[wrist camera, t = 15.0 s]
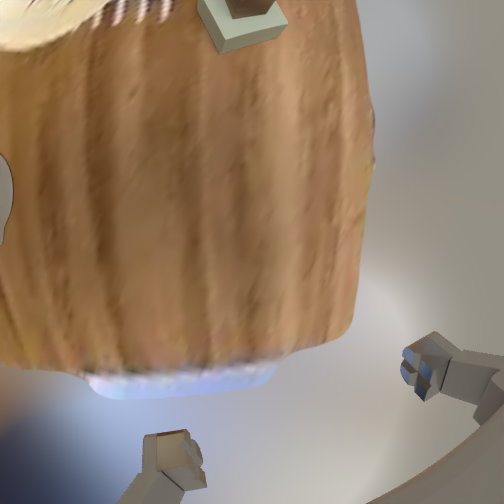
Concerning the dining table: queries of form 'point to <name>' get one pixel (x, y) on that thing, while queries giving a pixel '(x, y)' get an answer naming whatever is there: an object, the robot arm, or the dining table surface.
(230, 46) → the sage block
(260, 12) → the walnut post
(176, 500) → the robot arm
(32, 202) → the dining table surface
